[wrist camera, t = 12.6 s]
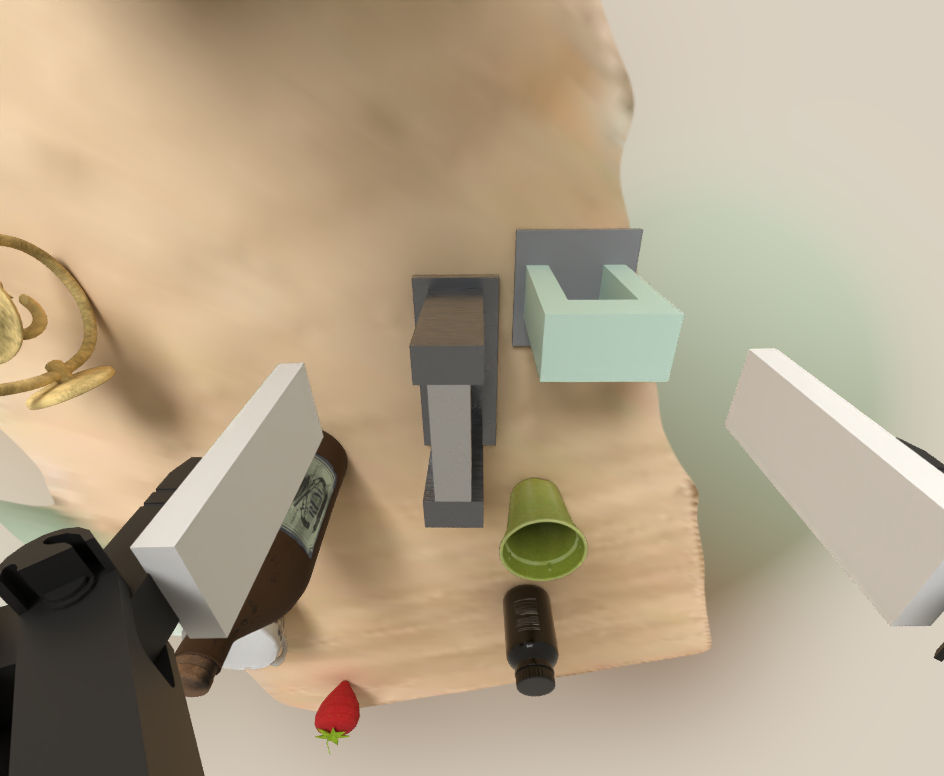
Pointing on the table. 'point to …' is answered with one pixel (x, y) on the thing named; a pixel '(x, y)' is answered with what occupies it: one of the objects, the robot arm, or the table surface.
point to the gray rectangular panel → (570, 263)
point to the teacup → (257, 648)
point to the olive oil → (274, 569)
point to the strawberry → (338, 713)
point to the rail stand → (456, 390)
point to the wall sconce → (6, 333)
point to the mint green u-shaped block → (600, 329)
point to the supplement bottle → (530, 639)
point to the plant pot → (540, 534)
